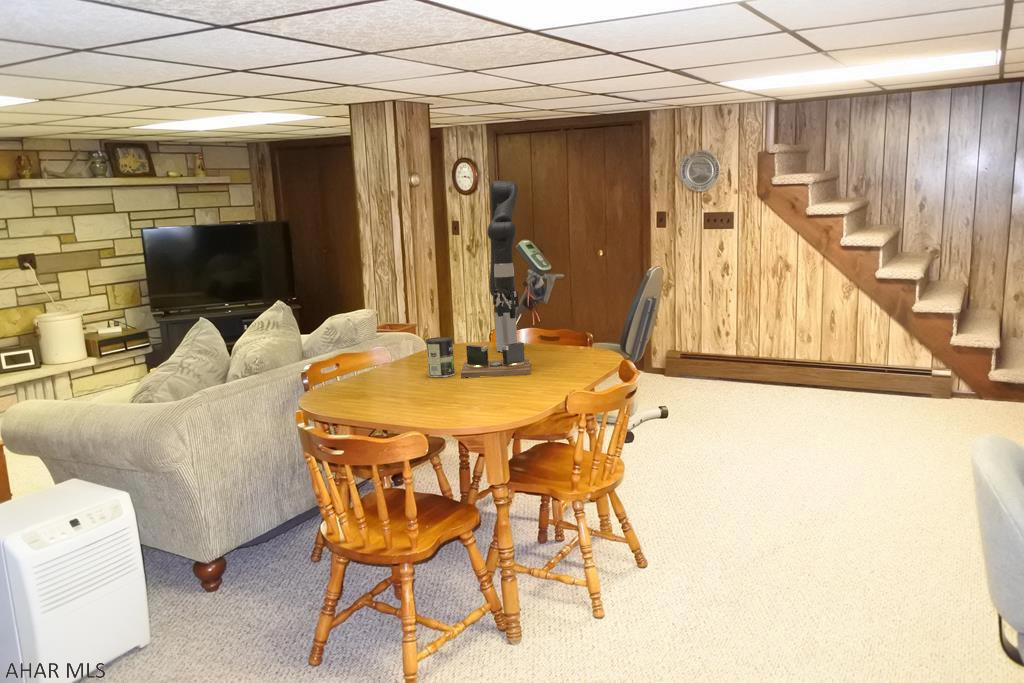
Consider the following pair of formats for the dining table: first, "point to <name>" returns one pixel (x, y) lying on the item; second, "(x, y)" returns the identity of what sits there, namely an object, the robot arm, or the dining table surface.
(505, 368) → the base plate
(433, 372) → the coffee can
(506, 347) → the knob
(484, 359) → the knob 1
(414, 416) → the dining table surface
